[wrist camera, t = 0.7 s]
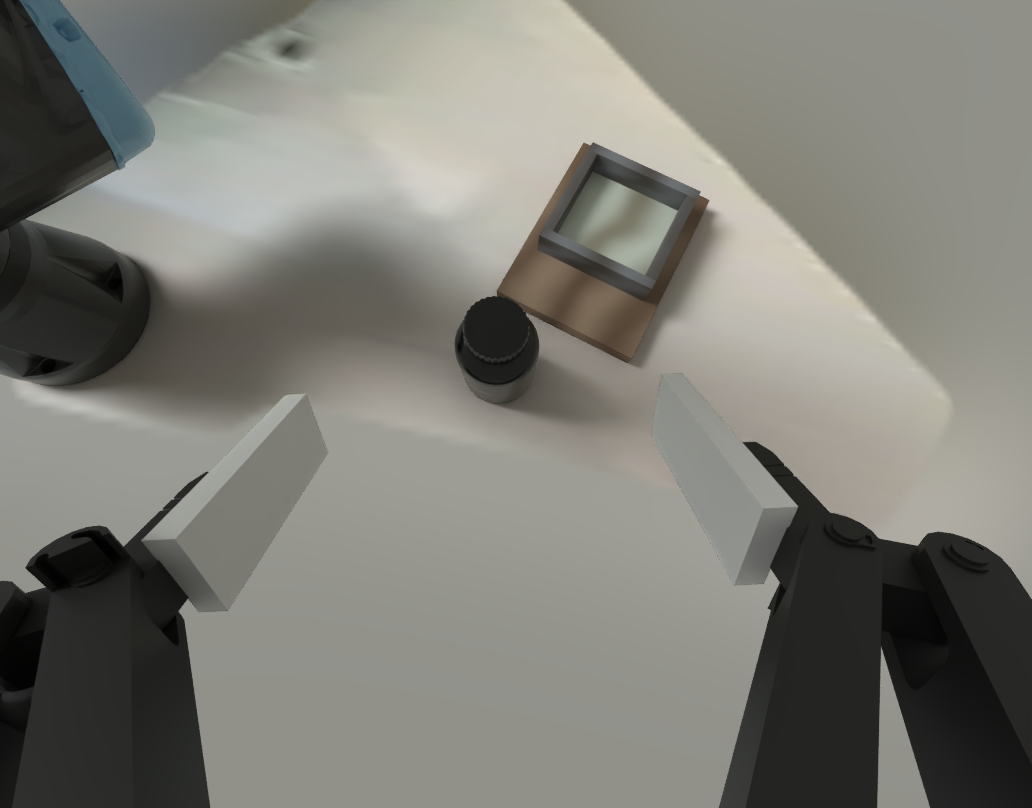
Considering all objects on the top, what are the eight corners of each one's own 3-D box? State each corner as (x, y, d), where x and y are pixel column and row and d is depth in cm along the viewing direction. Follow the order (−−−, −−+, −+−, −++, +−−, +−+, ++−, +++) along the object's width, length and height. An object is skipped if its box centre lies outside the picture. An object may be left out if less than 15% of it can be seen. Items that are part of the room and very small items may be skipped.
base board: (497, 297, 41) (495, 278, 37) (581, 153, 44) (588, 122, 40) (627, 362, 40) (640, 349, 36) (702, 209, 43) (722, 182, 39)
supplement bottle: (465, 406, 38) (445, 373, 27) (464, 340, 40) (445, 281, 28) (534, 404, 39) (545, 371, 27) (531, 339, 40) (541, 280, 28)
